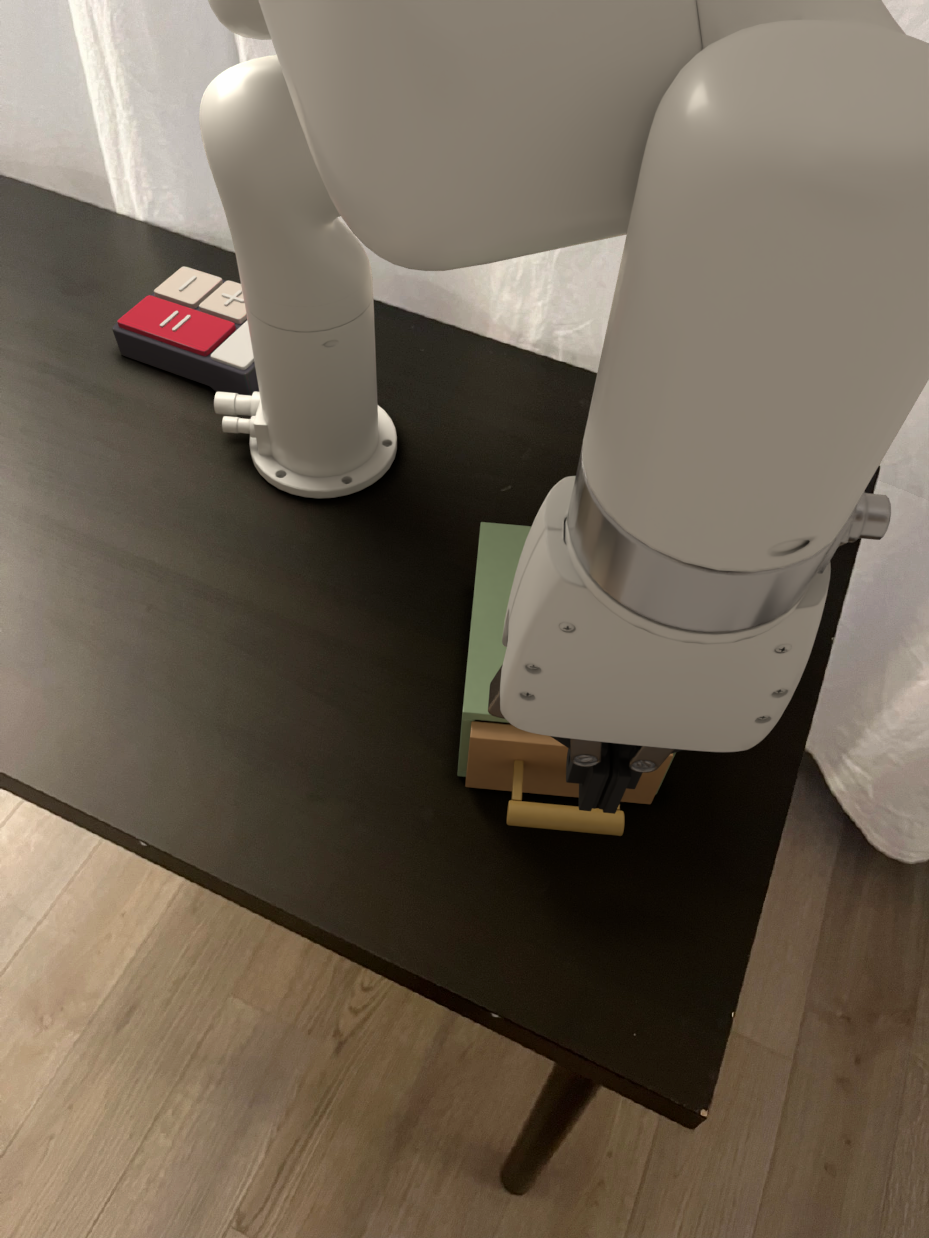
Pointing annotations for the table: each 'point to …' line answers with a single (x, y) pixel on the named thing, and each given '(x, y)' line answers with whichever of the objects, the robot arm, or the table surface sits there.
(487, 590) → the cabinet
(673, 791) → the table surface
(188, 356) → the calculator
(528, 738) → the drawer
